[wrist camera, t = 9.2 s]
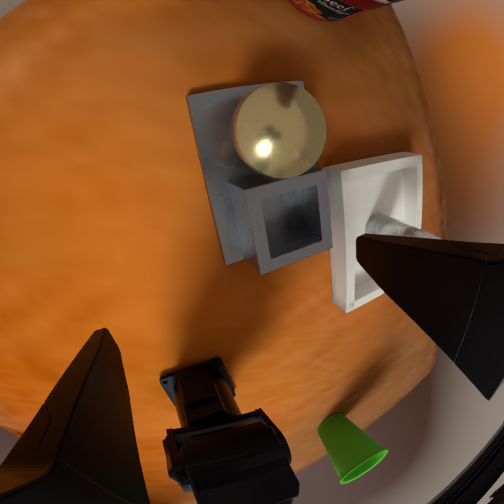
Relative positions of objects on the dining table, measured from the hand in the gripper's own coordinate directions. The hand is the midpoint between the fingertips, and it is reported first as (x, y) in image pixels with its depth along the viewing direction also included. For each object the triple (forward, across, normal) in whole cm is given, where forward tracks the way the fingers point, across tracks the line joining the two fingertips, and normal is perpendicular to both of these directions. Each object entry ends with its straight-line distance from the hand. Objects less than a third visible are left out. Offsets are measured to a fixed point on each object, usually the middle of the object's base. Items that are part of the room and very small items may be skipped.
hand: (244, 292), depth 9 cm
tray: (+13, -18, +7) cm, 23 cm away
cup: (+13, -12, +41) cm, 45 cm away
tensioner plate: (+13, -6, -1) cm, 15 cm away
